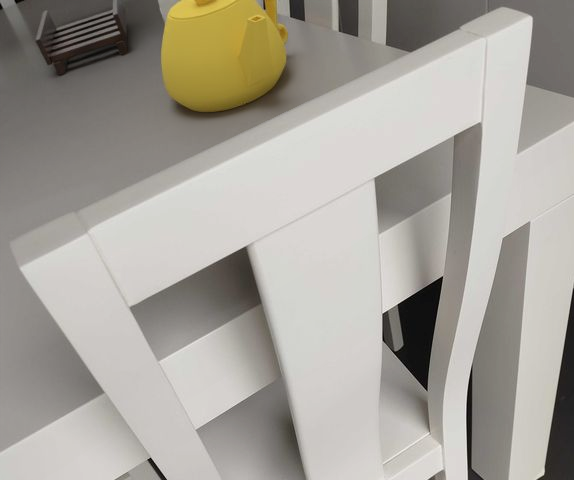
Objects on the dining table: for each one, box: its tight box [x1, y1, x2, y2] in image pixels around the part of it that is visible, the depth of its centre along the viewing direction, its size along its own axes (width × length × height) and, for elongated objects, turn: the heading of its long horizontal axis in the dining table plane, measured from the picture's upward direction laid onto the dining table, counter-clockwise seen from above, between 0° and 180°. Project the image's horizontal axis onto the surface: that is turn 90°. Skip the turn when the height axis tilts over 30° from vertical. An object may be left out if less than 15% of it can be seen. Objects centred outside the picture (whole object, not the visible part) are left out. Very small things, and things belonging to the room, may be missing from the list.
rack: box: [35, 0, 129, 76], centre depth 103 cm, size 14×17×6 cm
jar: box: [157, 0, 182, 24], centre depth 90 cm, size 9×8×12 cm
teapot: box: [160, 0, 289, 113], centre depth 75 cm, size 20×19×13 cm
